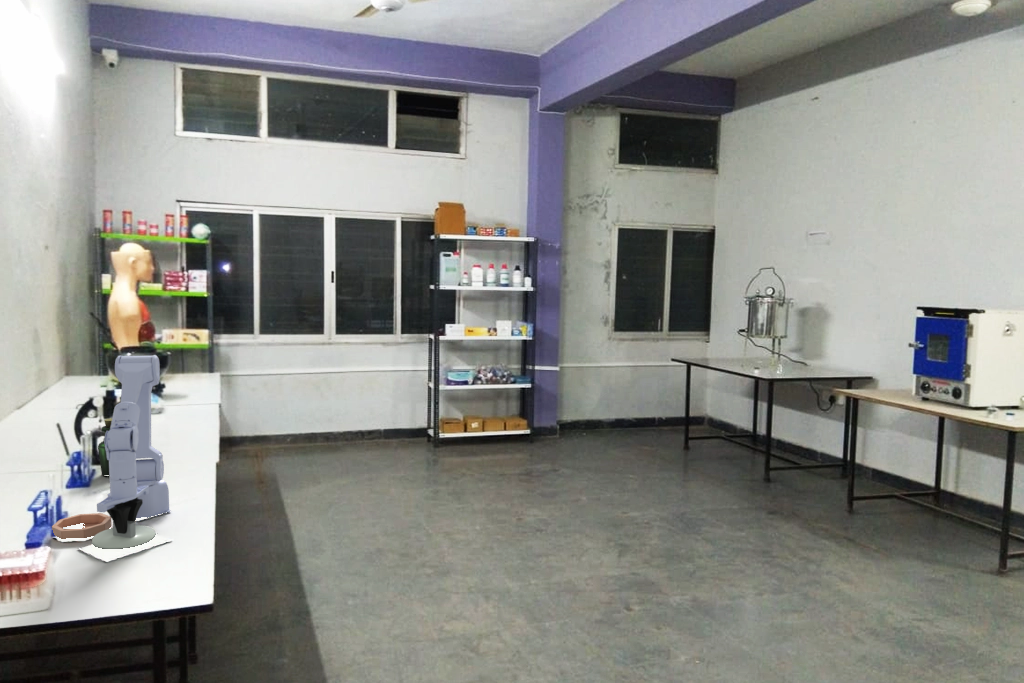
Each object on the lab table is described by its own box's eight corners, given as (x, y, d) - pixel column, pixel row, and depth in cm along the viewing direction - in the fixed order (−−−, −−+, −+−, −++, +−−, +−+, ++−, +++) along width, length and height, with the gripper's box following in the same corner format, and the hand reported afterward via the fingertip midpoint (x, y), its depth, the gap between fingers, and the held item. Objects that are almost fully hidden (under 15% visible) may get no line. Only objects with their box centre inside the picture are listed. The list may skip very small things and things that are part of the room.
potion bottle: (101, 479, 224) (99, 423, 223) (96, 473, 231) (94, 418, 229) (130, 474, 230) (128, 420, 228) (124, 469, 236) (122, 415, 234)
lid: (121, 524, 181) (121, 509, 181) (168, 531, 178) (167, 515, 178) (78, 544, 168) (77, 527, 168) (127, 552, 165) (126, 535, 165)
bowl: (94, 521, 189) (94, 510, 188) (119, 531, 182) (118, 519, 182) (45, 535, 179) (44, 523, 178) (69, 546, 172) (68, 534, 172)
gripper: (131, 467, 179) (133, 519, 181) (84, 484, 165) (87, 540, 167) (155, 469, 178) (157, 522, 179) (110, 486, 164) (112, 543, 165)
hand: (125, 531), depth 173 cm, fingers closed on lid, 2 cm apart
